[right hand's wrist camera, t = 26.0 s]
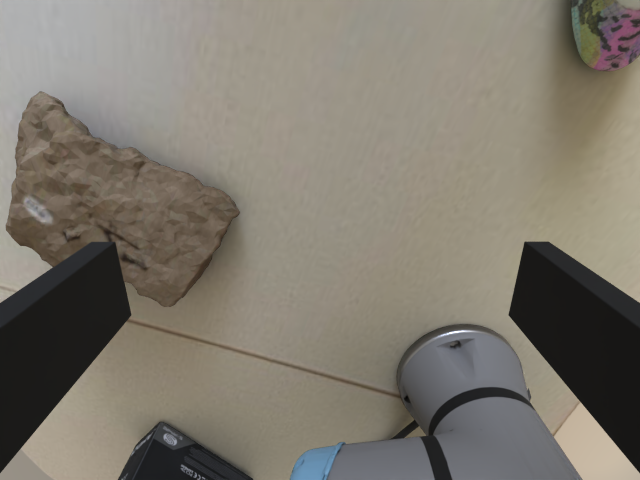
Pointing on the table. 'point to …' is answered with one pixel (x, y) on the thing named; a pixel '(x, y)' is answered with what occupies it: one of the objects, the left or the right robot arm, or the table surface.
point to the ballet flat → (607, 32)
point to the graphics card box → (175, 459)
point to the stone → (111, 204)
